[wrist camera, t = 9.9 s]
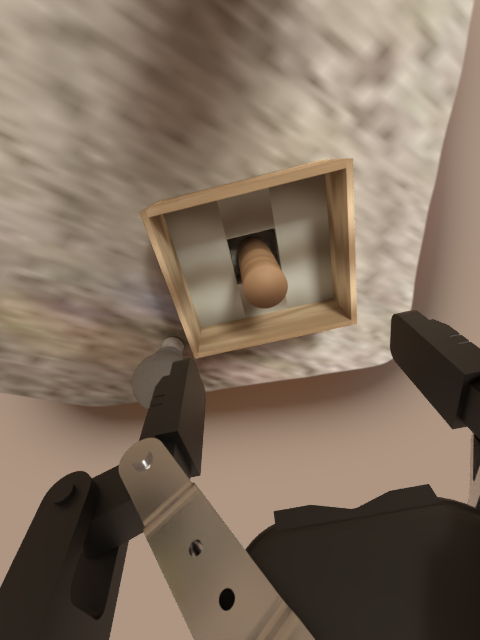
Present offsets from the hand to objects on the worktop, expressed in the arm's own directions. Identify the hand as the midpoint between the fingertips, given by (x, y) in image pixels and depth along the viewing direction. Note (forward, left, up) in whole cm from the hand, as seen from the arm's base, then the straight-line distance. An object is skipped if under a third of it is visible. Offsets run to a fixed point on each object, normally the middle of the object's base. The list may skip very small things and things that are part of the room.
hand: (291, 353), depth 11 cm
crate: (+2, 0, -21) cm, 21 cm away
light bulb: (+11, -12, -21) cm, 26 cm away
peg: (+2, 0, -21) cm, 21 cm away
